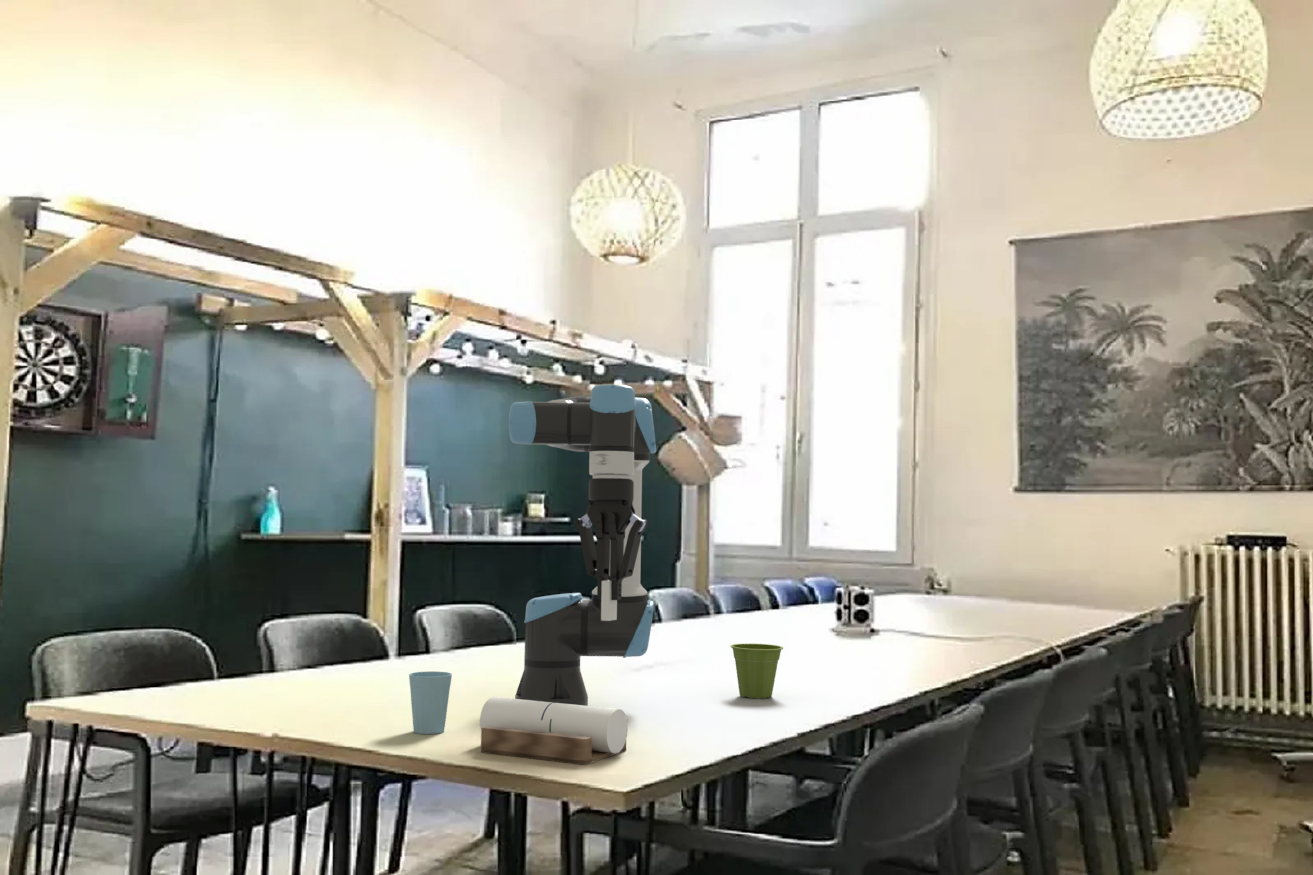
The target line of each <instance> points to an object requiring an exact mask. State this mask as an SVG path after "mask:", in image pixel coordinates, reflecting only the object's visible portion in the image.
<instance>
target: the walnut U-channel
mask: <svg viewBox="0 0 1313 875" xmlns="http://www.w3.org/2000/svg"><path fill="white" fill-rule="evenodd" d="M480 732H481V733H480V753H483V754H486V753H487V754H493V755H501V756H502V755H503V756H509V757H516V758H517V757H519V758H528V759H535V760H543V761H549V762H558V763H559V762H560V763H568V764H577V765H582V766H583V765H584V766H586V765H589V764H591V763H594V762H597V761H599V760H603V759H605V758H608V757H611V756H613V755H617V754H619V753H622V752H625V751H627V741H626V742H625V744H624V746H623V748H622V750H621V751H620V752H618V753H607V752H598V751H592V737H585V736H575V735H566V734H557V733H548V732H538V731H529V730H520V729H511V728H502V727H492V726H487V727H483V728H481V727H480Z"/></svg>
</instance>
